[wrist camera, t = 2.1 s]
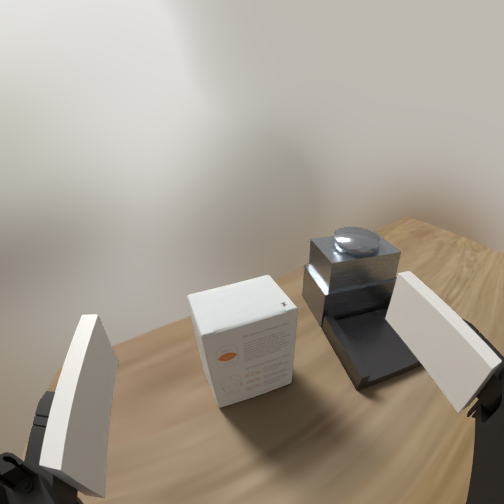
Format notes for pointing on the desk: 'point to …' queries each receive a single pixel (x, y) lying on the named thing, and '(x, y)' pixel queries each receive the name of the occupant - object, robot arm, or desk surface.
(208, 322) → the small box
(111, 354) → the robot arm
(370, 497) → the desk surface
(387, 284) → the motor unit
